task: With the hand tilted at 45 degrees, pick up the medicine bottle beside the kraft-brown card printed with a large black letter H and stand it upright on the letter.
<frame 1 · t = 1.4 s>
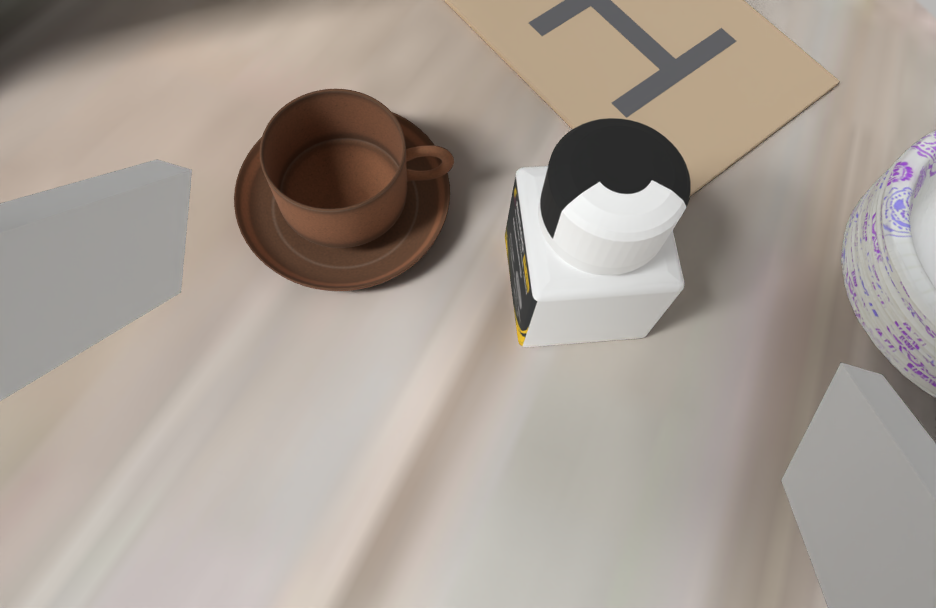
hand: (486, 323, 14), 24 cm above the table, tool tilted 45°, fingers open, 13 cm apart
medicine bottle: (572, 286, 41), on the table
cup and saucer: (347, 209, 42), on the table
letter card: (630, 36, 48), on the table
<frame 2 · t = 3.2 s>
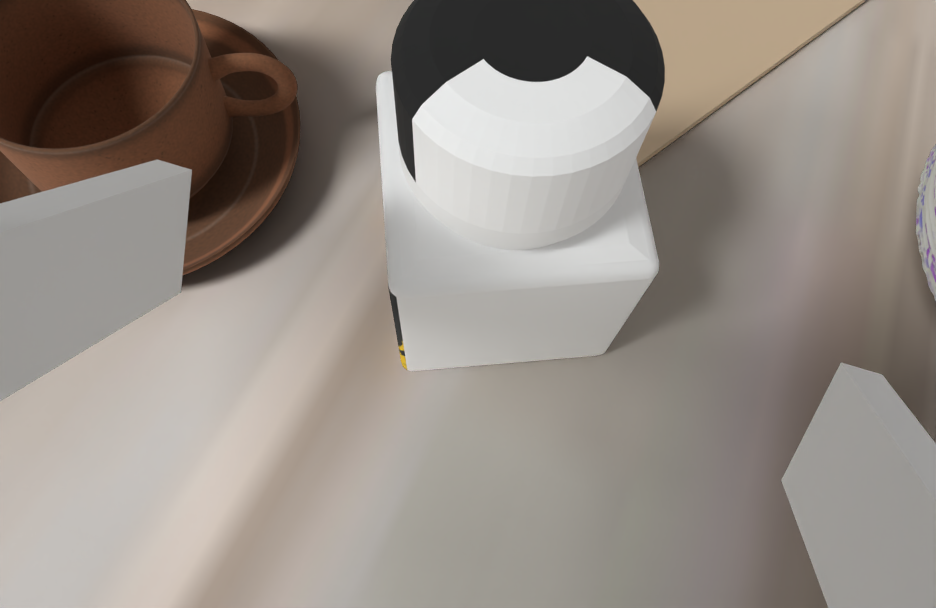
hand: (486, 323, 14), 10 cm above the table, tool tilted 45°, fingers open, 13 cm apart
medicine bottle: (493, 275, 26), on the table
cup and saucer: (153, 165, 28), on the table
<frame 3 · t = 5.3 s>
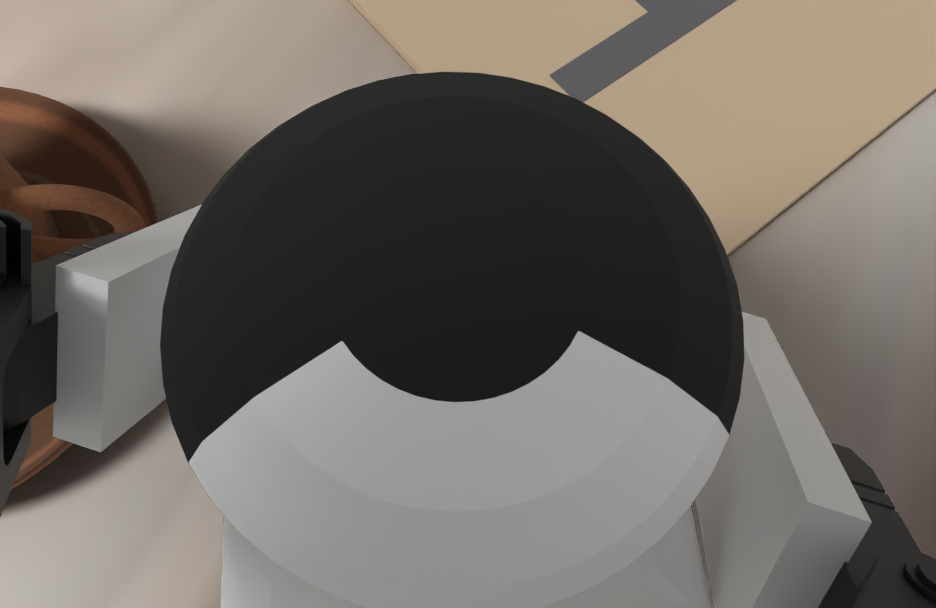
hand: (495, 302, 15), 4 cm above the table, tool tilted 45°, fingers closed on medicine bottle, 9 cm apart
medicine bottle: (448, 479, 18), on the table, touching gripper
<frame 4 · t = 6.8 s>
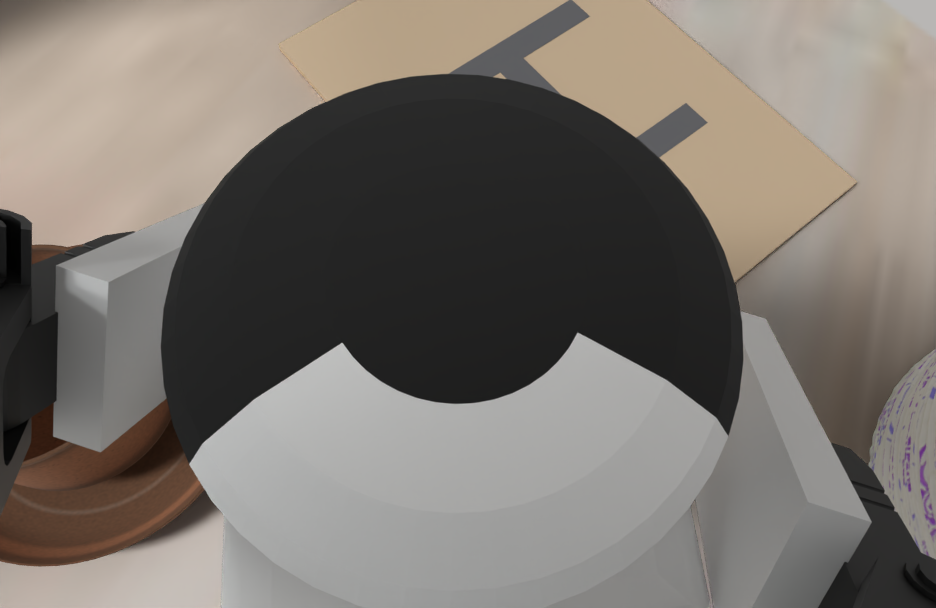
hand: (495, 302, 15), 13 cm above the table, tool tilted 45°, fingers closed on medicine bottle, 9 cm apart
medicine bottle: (448, 480, 18), point 9 cm above the table, touching gripper
cup and saucer: (105, 404, 28), on the table
letter card: (556, 116, 33), on the table
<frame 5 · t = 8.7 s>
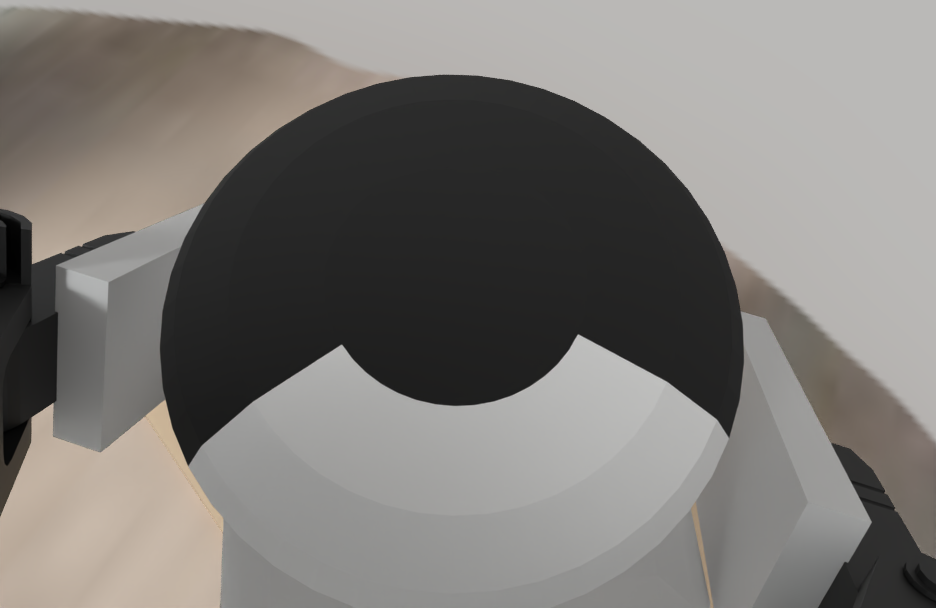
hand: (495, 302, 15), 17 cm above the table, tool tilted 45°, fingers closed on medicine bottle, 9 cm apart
medicine bottle: (447, 481, 18), point 12 cm above the table, touching gripper
letter card: (446, 491, 30), on the table
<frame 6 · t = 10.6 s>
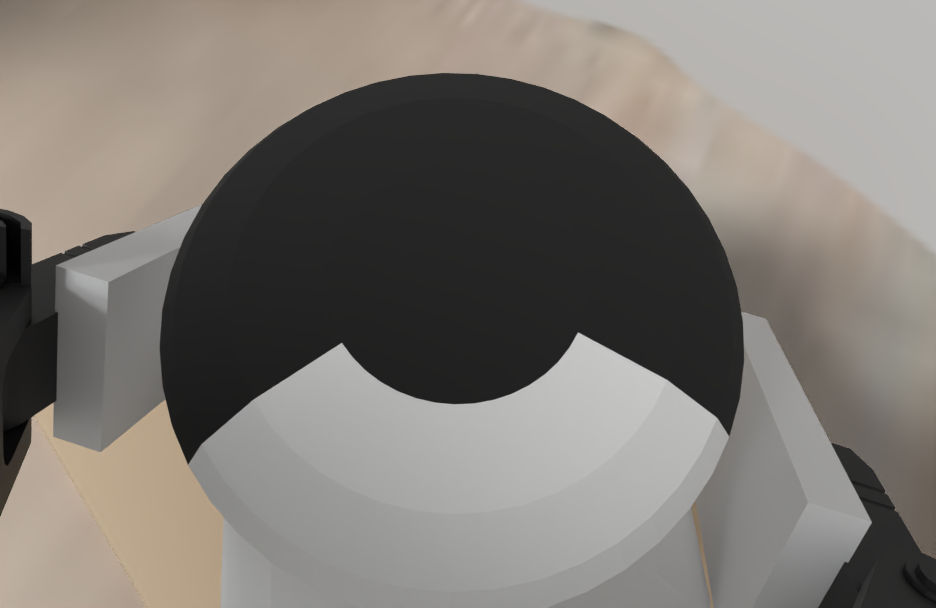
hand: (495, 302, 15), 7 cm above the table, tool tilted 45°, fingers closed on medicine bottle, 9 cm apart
medicine bottle: (447, 480, 18), point 3 cm above the table, touching gripper
letter card: (436, 486, 21), on the table
when the fingers open (5 cm above the table, at t = 11.5 s): medicine bottle stays where it is, resting on letter card.
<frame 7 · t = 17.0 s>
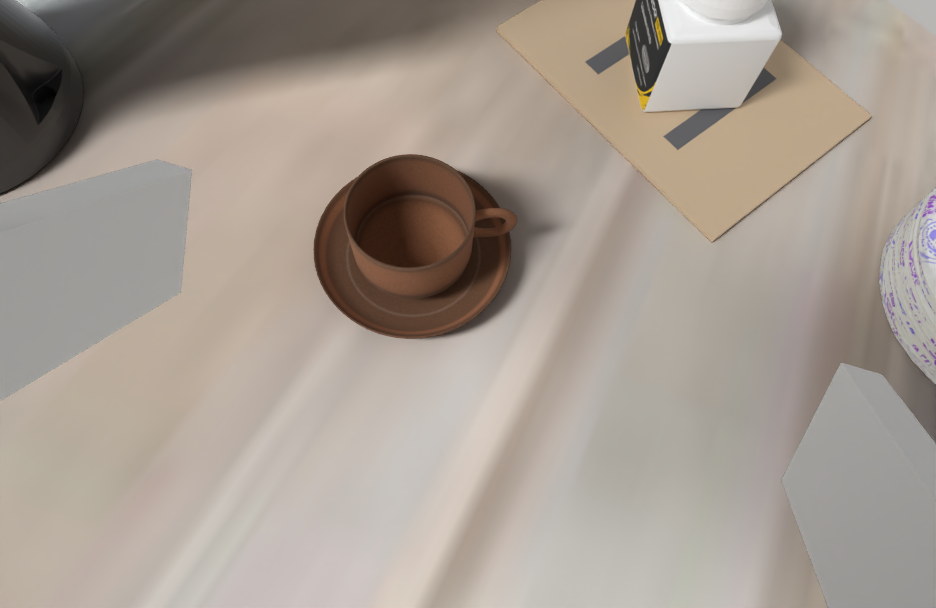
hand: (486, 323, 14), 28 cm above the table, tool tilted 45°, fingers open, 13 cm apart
medicine bottle: (679, 73, 52), resting on letter card
cup and saucer: (414, 260, 46), on the table
letter card: (679, 74, 52), on the table
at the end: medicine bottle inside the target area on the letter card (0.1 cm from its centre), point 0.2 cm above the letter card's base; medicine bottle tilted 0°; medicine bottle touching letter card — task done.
